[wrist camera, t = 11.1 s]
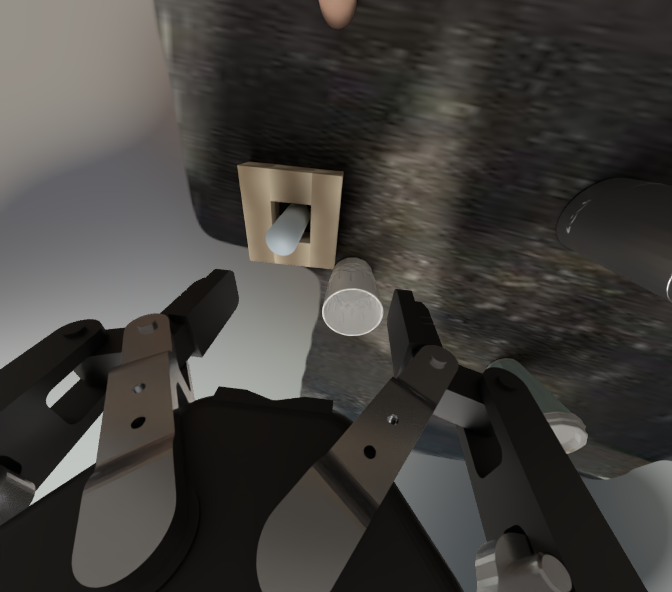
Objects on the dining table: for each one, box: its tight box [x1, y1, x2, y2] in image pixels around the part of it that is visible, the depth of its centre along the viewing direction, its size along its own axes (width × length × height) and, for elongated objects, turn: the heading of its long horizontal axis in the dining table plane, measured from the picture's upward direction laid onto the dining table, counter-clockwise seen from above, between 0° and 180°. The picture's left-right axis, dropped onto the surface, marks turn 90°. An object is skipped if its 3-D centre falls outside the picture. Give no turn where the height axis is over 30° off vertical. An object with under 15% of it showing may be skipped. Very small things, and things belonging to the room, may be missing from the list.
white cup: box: [322, 257, 383, 336], centre depth 35 cm, size 8×8×10 cm
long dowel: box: [265, 203, 310, 256], centre depth 29 cm, size 3×3×10 cm
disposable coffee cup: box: [486, 358, 588, 454], centre depth 43 cm, size 11×11×15 cm
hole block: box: [237, 162, 344, 269], centre depth 32 cm, size 12×12×4 cm
